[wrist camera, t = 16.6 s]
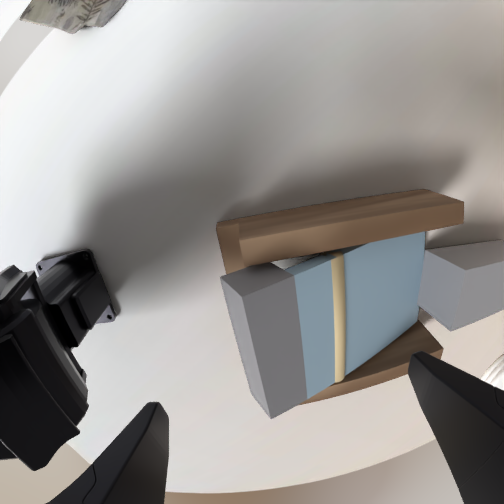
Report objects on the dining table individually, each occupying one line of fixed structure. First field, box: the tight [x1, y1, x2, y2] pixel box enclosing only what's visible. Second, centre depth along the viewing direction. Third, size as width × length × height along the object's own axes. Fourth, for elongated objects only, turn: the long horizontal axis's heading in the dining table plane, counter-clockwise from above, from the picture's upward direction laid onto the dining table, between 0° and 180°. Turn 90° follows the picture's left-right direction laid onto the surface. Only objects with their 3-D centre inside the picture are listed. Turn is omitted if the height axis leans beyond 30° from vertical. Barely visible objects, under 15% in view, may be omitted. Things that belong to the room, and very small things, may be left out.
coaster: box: [480, 355, 504, 390], centre depth 29 cm, size 10×10×4 cm
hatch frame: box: [216, 189, 464, 405], centre depth 20 cm, size 14×16×5 cm
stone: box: [417, 240, 504, 331], centre depth 19 cm, size 5×5×12 cm
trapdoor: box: [220, 232, 425, 419], centre depth 19 cm, size 10×16×3 cm, turn 100°
